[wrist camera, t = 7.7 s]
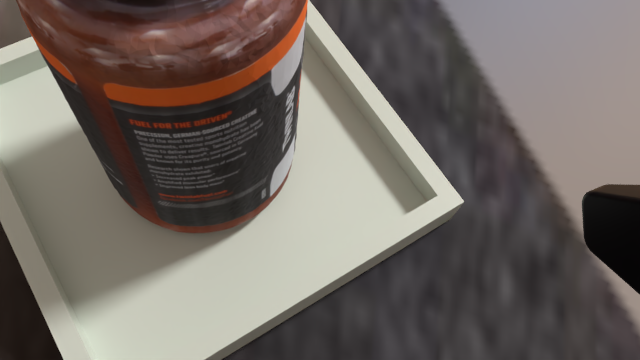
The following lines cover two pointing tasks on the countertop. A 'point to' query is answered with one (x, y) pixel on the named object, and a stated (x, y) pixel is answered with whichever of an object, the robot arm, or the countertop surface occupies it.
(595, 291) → the countertop surface
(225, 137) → the supplement bottle
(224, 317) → the tray
